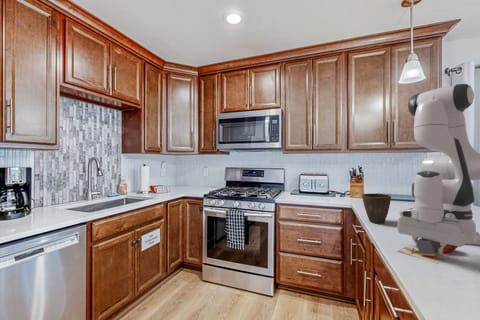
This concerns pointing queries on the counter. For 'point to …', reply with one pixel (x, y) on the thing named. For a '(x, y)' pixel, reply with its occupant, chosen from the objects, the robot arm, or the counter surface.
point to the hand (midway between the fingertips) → (428, 250)
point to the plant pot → (376, 207)
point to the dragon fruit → (448, 247)
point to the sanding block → (427, 247)
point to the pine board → (415, 253)
